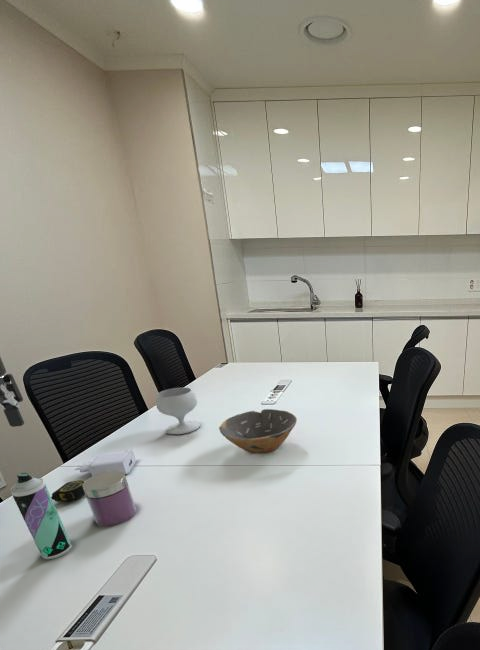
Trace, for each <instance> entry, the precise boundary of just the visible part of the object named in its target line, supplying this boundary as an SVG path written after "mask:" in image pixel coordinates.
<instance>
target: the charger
mask: <svg viewBox="0 0 480 650" xmlns="http://www.w3.org/2000/svg"><path fill="white" fill-rule="evenodd" d="M135 464H136V457H135V453H134V450H133V449H127V450H119V451H112V452H111V451H110V452H103V453H100V454H98V455H96V457H95V458H94V459H93V460H92V461H84V462H83V463H82V464H81V465H77V466H76V468H74V471H78V470H79V472H80V473H89V472H90V474H91V477H93V476H95V475H97V474H100V473H104V472H109V471H120V472H123V473H124V475H127V474H129V473H130V471H132V468H133V467H134V466H135Z"/></svg>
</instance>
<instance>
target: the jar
mask: <svg viewBox="0 0 480 650" xmlns="http://www.w3.org/2000/svg"><path fill="white" fill-rule="evenodd" d="M84 496H85V498H86V501H87V503H88V506H89V508H90V510H91V514H92V516H93V519H94V521H95V524H96V525H98V526H100V527H111V526H115V525H119V524H121V523H124V522H126V521H127V520H129V519H131V518H132V517H133V516H134V515H135V514H136V513H137V507H136V504H135V501H134V498H133V495H132V491H131V489H130V486H129V483H128V482H127V485H126V486H125V487H124V488H123V489H122V490H120V491H119V492H117V493H114V494H112V495H109V496H106V497H100V498H90V497H87V496H86V494H85V495H84Z"/></svg>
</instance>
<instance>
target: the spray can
mask: <svg viewBox="0 0 480 650" xmlns="http://www.w3.org/2000/svg"><path fill="white" fill-rule="evenodd" d="M16 477H17V480H16V481H15V483H14V484H13V485H12V486H11V487H10V492H11V496H12V498H13V500H14V502H15V504H16V506H17V508H18V511H19V512H20V514H21V516H22V518H23V520H24V523H25V525H26V527H27V529H28V531H29V533H30V535H31V538H32V539H33V540H34V543H35V545H36V548H37V549H38V552H39V554H40V556H41V558H42V559H43V560H53V559H56V558H60V557H62V556H64V555H65V554H67V553H68V552H69V551H70V550H71V549H72V546H73V545H72V542H71V540H70V538H69V535H68V533H67V531H66V528H65V526H64V523H63V521H62V519H61V517H60V514H59V512H58V510H57V507H56V505H55V503H54V500H52V498H51V497H52V495H51V494H50V492H49V490H48V487H47V485H46V483H45V481H44V480H43V478H41V477H34V476H31V475H30V474H29V473H28V472H21V473H18V474H17V476H16Z"/></svg>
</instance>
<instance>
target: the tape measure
mask: <svg viewBox="0 0 480 650" xmlns="http://www.w3.org/2000/svg"><path fill="white" fill-rule="evenodd" d="M84 482H85V480H81V479H79V480H78V479H77V480H73V481H68V482H66V483H64V484H63V485H61V486H60V487H59V488H57V489H56V490H55V491H54V492H52V493H51V498H52V501H54V502H62V501H63V502H72V501H76V500H78V499H80V498H82V497H84V496H85V492H84V489H83V487H82V485H83V483H84Z"/></svg>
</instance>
